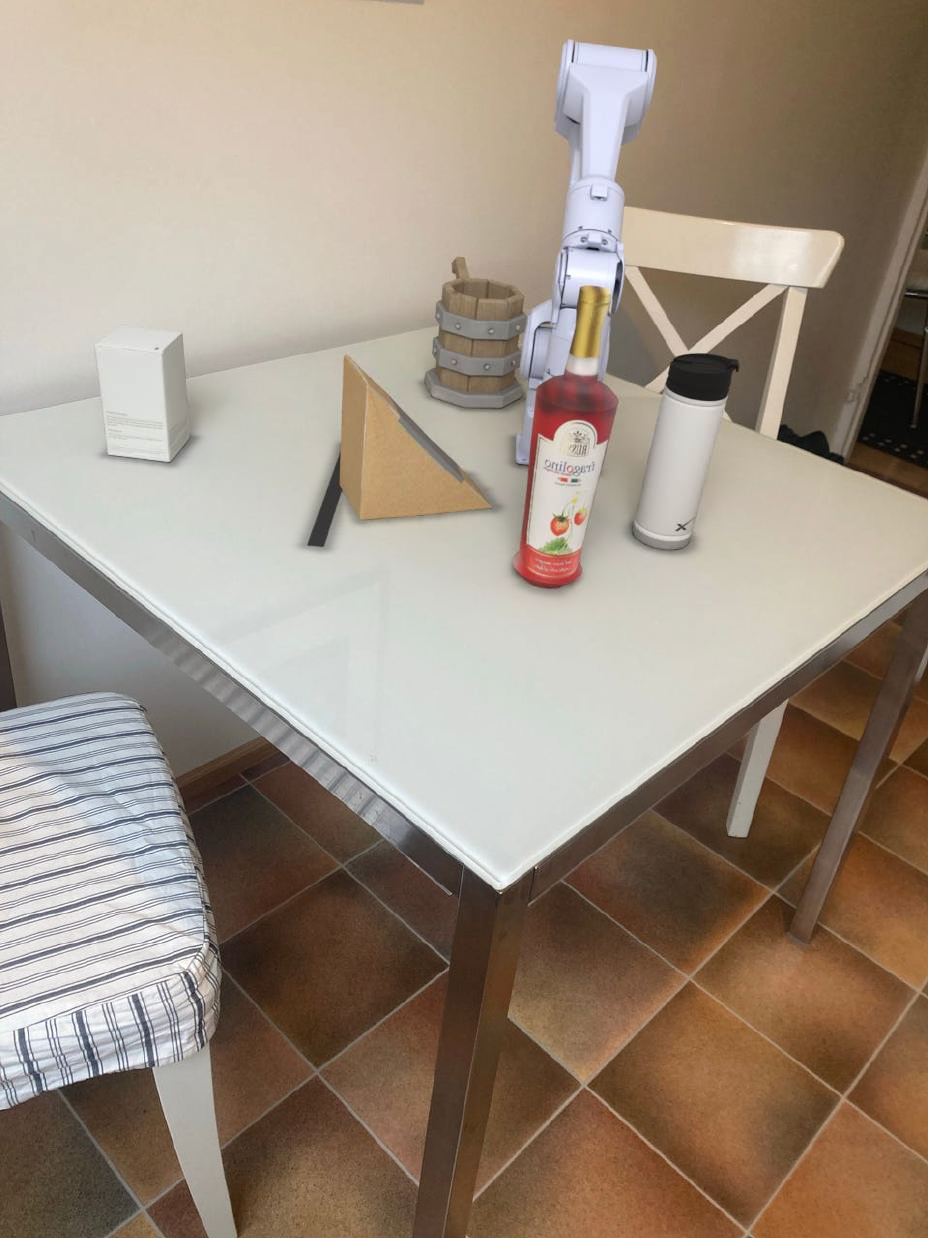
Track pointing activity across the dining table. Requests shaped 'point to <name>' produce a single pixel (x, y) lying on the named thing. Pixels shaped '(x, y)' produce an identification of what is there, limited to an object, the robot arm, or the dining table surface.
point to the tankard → (477, 342)
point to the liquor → (567, 453)
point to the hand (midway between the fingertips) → (552, 491)
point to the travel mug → (682, 448)
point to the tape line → (327, 509)
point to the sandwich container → (394, 458)
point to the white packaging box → (143, 392)
